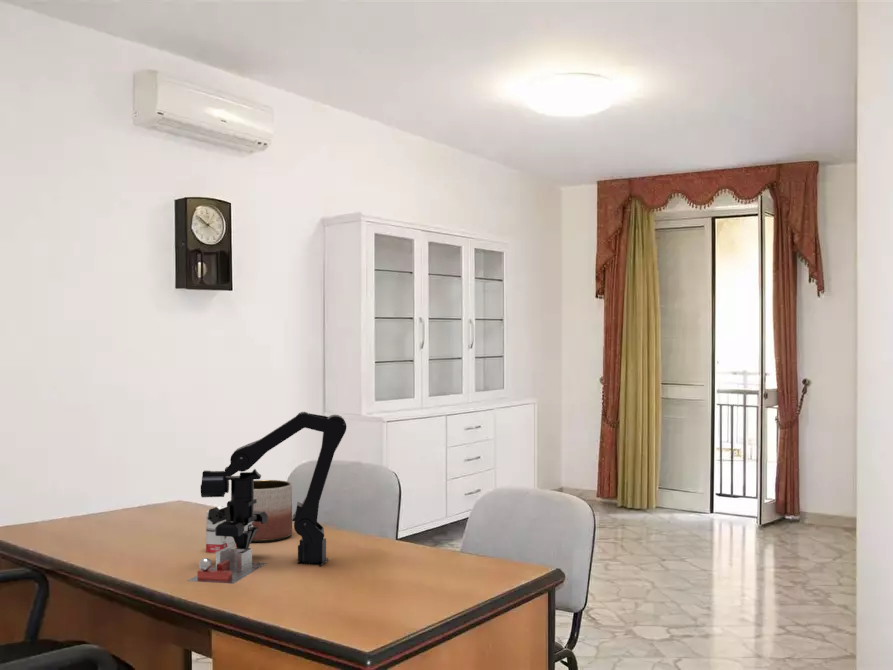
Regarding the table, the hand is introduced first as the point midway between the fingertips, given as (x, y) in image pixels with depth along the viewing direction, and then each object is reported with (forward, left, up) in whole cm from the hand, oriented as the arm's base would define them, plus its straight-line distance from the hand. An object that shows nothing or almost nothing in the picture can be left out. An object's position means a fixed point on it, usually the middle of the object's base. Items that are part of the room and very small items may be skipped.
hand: (242, 556), depth 220 cm
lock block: (0, +5, -2) cm, 5 cm away
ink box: (+13, -14, -3) cm, 19 cm away
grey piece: (0, +8, -2) cm, 8 cm away
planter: (+9, -33, -3) cm, 34 cm away
